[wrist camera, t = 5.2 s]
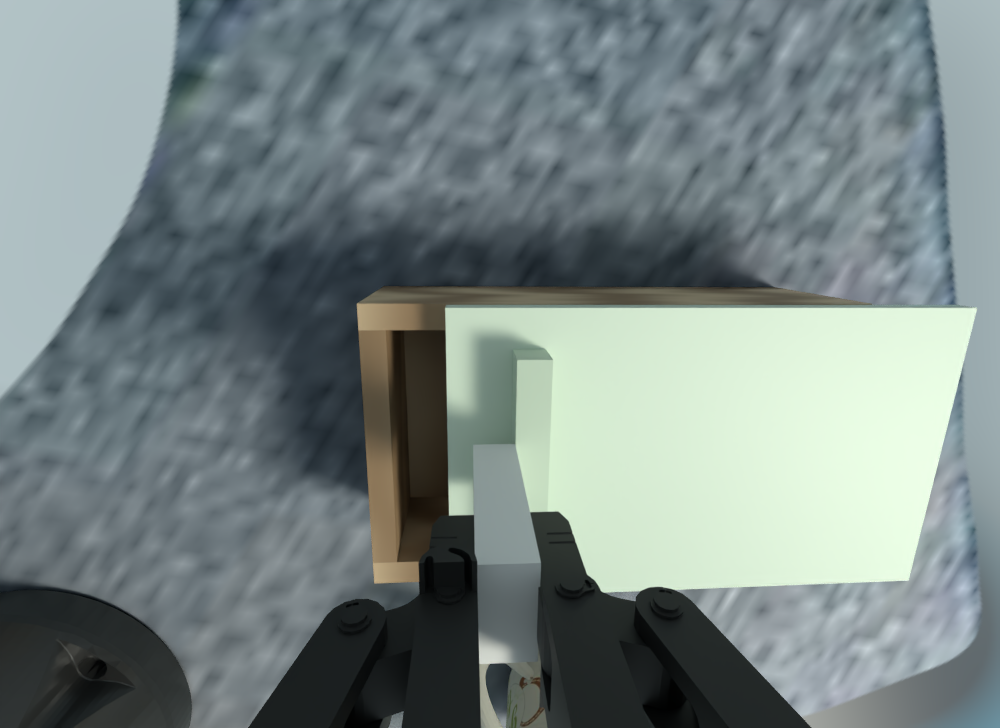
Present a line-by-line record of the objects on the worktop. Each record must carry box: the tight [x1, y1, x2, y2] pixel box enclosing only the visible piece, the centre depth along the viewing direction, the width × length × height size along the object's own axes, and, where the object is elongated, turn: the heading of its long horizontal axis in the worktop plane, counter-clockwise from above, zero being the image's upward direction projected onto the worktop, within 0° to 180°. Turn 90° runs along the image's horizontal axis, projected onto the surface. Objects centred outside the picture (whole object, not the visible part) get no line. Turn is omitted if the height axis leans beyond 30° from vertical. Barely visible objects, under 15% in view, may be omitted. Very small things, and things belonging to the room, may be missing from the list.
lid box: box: [357, 286, 872, 583], centre depth 24 cm, size 20×12×6 cm, turn 90°
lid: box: [445, 305, 977, 592], centre depth 19 cm, size 20×12×2 cm, turn 90°
